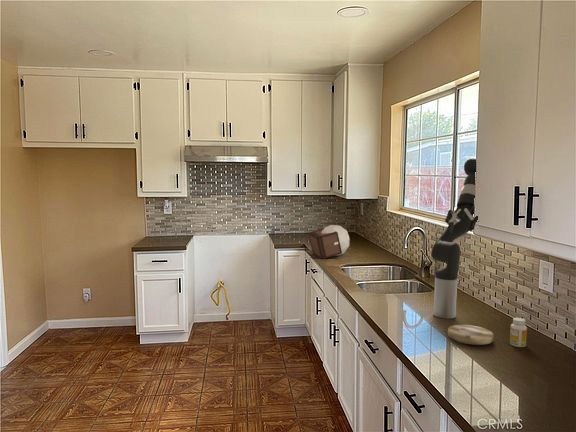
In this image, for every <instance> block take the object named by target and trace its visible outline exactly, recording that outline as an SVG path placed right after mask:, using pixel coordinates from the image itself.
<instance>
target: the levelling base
mask: <svg viewBox="0 0 576 432" xmlns="http://www.w3.org/2000/svg"><path fill="white" fill-rule="evenodd" d="M447 335H448V337H450V338H451V339H452V340H454V341H456V343H457V344H460V343H461V344H467V345H473V346H474V345H475V346H484V345H489V344H491V343H493V342H494V333H493V332H492V331H490V330H489V329H487V328H484V327H482V326H477V325H471V324H454V325H451V326H449V327H448V328H447Z"/></svg>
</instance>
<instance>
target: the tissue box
mask: <svg viewBox="0 0 576 432" xmlns="http://www.w3.org/2000/svg"><path fill="white" fill-rule="evenodd" d="M307 234H308V239H309V243H310V247H311V252H312V255H314V256H316V257H317V258H319V259H320V260H325V259H329V258H332V257H338V256H341V255H343V254H345V252H346V251H347V249H348V248H349V247H350V235H349V233H348V230H347V229H345V228H344V227H342V226H341V225H335V224H329V225H328V226H325V227H324V228H321V229H318V230H313V231H309V232H307Z"/></svg>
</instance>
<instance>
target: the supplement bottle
mask: <svg viewBox="0 0 576 432" xmlns="http://www.w3.org/2000/svg"><path fill="white" fill-rule="evenodd" d="M509 329H510V333H509V344H510V345H511V346H514V347H515V348H517V347H518V348H525V347H526V346H527V335H528V334H527V333H528V327H527V326H526V319H524V318H522V317H513V318H512V323H511V324H510V328H509Z"/></svg>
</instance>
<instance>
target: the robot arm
mask: <svg viewBox="0 0 576 432" xmlns="http://www.w3.org/2000/svg"><path fill="white" fill-rule="evenodd" d="M476 159H477V158H467V160H465V162H464V164H463V170H464V173H465V174H466V177H465V178H464V182H463V184H462V188H461V190H460V193H459V195H458V200H457V204H456V209H455V210H452V209H449V210H448V211H447V214H446V216H445V217H446V218H445V220H444V222H445V223H446V224H447V227H446V228H445V230H444V232H443V233H442V234H441V235H440V236H439V237H438V238H437V240H436V241H435V242H434V244H433V246H432V248H431V253H430V254H431V257H432V259H433V260H434V261H436V262H439V263H440V262H441V263H446V267H444V268H440V269H436V271H435V272H434V273H435V274H434V296H433V297H434V298H433V300H434V301H433V315H434V316H435V317H437V318H439V319H445V320H446V319H447V320H448V319H455V318H456V314H457V313H456V312H457V294H458V293H457V291H458V274H459V270H460V269H459V267H460V260H461V259H460V257H461V247H460V245H459V244H458V243H457V242H454V241H456V240H457V239H458V238H460V237H462V236H464V235H466V234H467V233H468V232H473V231H474V229H475V226H476V224H477V223H476V222H477V220H478V216H476V217H475V218H474V217H473V214H474V198H475V172H476Z"/></svg>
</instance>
